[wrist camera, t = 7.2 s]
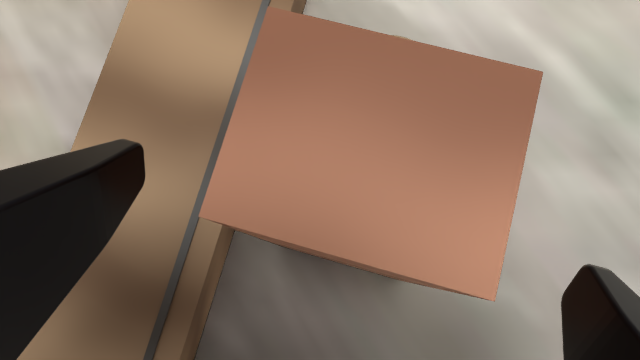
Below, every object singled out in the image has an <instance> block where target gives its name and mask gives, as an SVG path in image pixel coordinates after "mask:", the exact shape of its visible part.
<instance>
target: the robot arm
mask: <svg viewBox="0 0 640 360" xmlns="http://www.w3.org/2000/svg"><path fill="white" fill-rule="evenodd" d="M144 182H145V160H144V149H143V146H142V145H141V144H140V143H138V142H134V141H130V140H127V139H118V140H114V141H111V142H107V143H103V144H99V145H95V146H92V147H88V148H84V149H80V150H76V151H73V152H69V153H65V154H61V155H57V156H53V157H50V158H46V159H42V160H38V161H34V162H31V163H27V164H23V165H19V166H15V167H11V168H8V169H4V170H0V360H17V359H18V357H19V356H20V355H21V353H22V352H23V351H24V350H25V348H26V347H27V346H28V344H29V343H30V342H31V341H32V339H33V338H34V337H35V336H36V334H37V333H38V332H39V330H40V329H41V328H42V327H43V325H44V324H45V323H46V322H47V320H48V319H49V318H50V316H51V315H52V314H53V313H54V311H55V310H56V309H57V308H58V306H59V305H60V304H61V302H62V301H63V300H64V299H65V297H66V296H67V295H68V294H69V292H70V291H71V290H72V288H73V287H74V286H75V285H76V283H77V282H78V281H79V280H80V278H81V277H82V276H83V274H84V273H85V272H86V271H87V269H88V268H89V267H90V266H91V264H92V263H93V262H94V260H95V259H96V258H97V257H98V255H99V254H100V253H101V252H102V250H103V249H104V247H105V246H106V245H107V243H108V242H109V241H110V239H111V237H112V236H113V234H114V233H115V231H116V230H117V228H118V226H119V225H120V223H121V222H122V220H123V218H124V217H125V215H126V213H127V212H128V210H129V208H130V207H131V205H132V204H133V202H134V200H135V199H136V197H137V195H138V194H139V192H140V191H141V189H142V187H143V185H144ZM561 311H562V332H563V354H564V360H640V297H639V296H638V295H637V294H636V293H635V292H633V291H632V290H631V289H630V288H629V287H628V286H627V285H626V284H625V283H624V282H623V281H622V280H620V279H619V278H618V277H617V276H616V275H615V274H614V273H613V272H612V271H610V270H609V269H606V268H602V267H598V266H595V265H591V264H587V265H584V266H583V267H582V268H581V269H580V270H579V271H578V273H577V274H576V276H575V277H574V279H573V280H572V281H571V283H570V284H569V286H568V287H567V289H566V290H565V292H564V294H563V296H562V301H561Z"/></svg>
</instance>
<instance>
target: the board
mask: <svg viewBox="0 0 640 360" xmlns="http://www.w3.org/2000/svg"><path fill="white" fill-rule="evenodd" d="M305 3H306V0H129V2H128V4H127V7H126V9H125V12H124V15H123V17H122V20H121V22H120V25H119V27H118V30H117V33H116V35H115V38H114V40H113V43H112V46H111V48H110V51H109V53H108V56H107V58H106V61H105V64H104V66H103V69H102V71H101V74H100V77H99V79H98V82H97V84H96V87H95V89H94V92H93V95H92V97H91V100H90V102H89V105H88V108H87V110H86V113H85V115H84V118H83V121H82V123H81V126H80V128H79V131H78V133H77V136H76V139H75V141H74V144H73V146H72V149H71V152H73V151H76V150H80V149H84V148H88V147H92V146H95V145H99V144H103V143H107V142H111V141H114V140H118V139H127V140H130V141H134V142H138V143H140V144H141V145H142V146H143V149H144V160H145V182H144V185H143V187H142V189H141V191H140V192H139V194H138V195H137V197H136V199H135V200H134V202H133V204H132V205H131V207H130V208H129V210H128V212H127V213H126V215H125V217H124V218H123V220H122V222H121V223H120V225H119V226H118V228H117V230H116V231H115V233H114V234H113V236H112V237H111V239H110V241H109V242H108V243H107V245H106V246H105V247H104V249H103V250H102V252H101V253H100V254H99V255H98V257H97V258H96V259H95V260H94V262H93V263H92V264H91V266H90V267H89V268H88V269H87V271H86V272H85V273H84V274H83V276H82V277H81V278H80V280H79V281H78V282H77V283H76V285H75V286H74V287H73V288H72V290H71V291H70V292H69V294H68V295H67V296H66V297H65V299H64V300H63V301H62V302H61V304H60V305H59V306H58V308H57V309H56V310H55V311H54V313H53V314H52V315H51V316H50V318H49V319H48V320H47V322H46V323H45V324H44V325H43V327H42V328H41V329H40V330H39V332H38V333H37V334H36V336H35V337H34V338H33V339H32V341H31V342H30V343H29V344H28V346H27V347H26V348H25V350H24V351H23V352H22V353H21V355H20V356H19V357H18V359H17V360H194V358H195V354H196V351H197V348H198V345H199V342H200V338H201V335H202V332H203V329H204V326H205V322H206V319H207V316H208V313H209V310H210V306H211V303H212V300H213V297H214V294H215V290H216V287H217V284H218V281H219V278H220V275H221V271H222V268H223V265H224V262H225V259H226V255H227V252H228V249H229V246H230V243H231V239H232V236H233V233H234V230H235V229H232V228H229V227H226V226H223V225H221V224H218V223H215V222H212V221H209V220H207V219H204V218H201V217H198V216H199V213H200V210H201V207H202V204H203V201H204V198H205V195H206V192H207V189H208V186H209V183H210V180H211V177H212V174H213V171H214V168H215V165H216V162H217V159H218V156H219V153H220V150H221V147H222V144H223V140H224V137H225V134H226V131H227V128H228V125H229V122H230V119H231V116H232V113H233V110H234V107H235V104H236V101H237V98H238V95H239V92H240V89H241V86H242V83H243V80H244V77H245V74H246V71H247V68H248V65H249V62H250V59H251V56H252V53H253V50H254V47H255V44H256V41H257V38H258V35H259V32H260V29H261V26H262V23H263V20H264V17H265V14H266V11H267V8H268V6H270V7H274V8H278V9H282V10H286V11H291V12H295V13H299V14H302V13H303V10H304V7H305Z"/></svg>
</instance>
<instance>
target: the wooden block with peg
mask: <svg viewBox="0 0 640 360" xmlns="http://www.w3.org/2000/svg"><path fill="white" fill-rule="evenodd" d="M542 75H543V72H542V71H537V70H533V69H529V68H525V67H521V66H516V65H512V64H508V63H504V62H500V61H496V60H491V59H487V58H483V57H479V56H475V55H470V54H466V53H462V52H458V51H454V50H450V49H445V48H441V47H437V46H433V45H429V44H424V43H420V42H416V41H412V40H410V39H408V38H405V37H401V36H394V35H387V34H383V33H378V32H374V31H370V30H366V29H362V28H358V27H353V26H349V25H345V24H341V23H337V22H332V21H328V20H324V19H320V18H316V17H312V16H307V15H303V14H299V13H295V12H291V11H286V10H282V9H278V8H274V7H270V6H268V8H267V11H266V14H265V17H264V20H263V23H262V26H261V29H260V32H259V35H258V38H257V41H256V44H255V47H254V50H253V53H252V56H251V59H250V62H249V65H248V68H247V71H246V74H245V77H244V80H243V83H242V86H241V89H240V92H239V95H238V98H237V101H236V104H235V107H234V110H233V113H232V116H231V119H230V122H229V125H228V128H227V131H226V134H225V137H224V140H223V144H222V147H221V150H220V153H219V156H218V159H217V162H216V165H215V168H214V171H213V174H212V177H211V180H210V183H209V186H208V189H207V192H206V195H205V198H204V201H203V204H202V207H201V210H200V213H199V216H198V217H201V218H204V219H207V220H209V221H212V222H215V223H218V224H221V225H223V226H226V227H229V228H232V229H235V230H237V231H240V232H243V233H246V234H249V235H251V236H254V237H257V238H260V239H263V240H265V241H268V242H271V243H274V244H277V245H279V246H283V247H286V248H290V249H293V250H297V251H300V252H303V253H307V254H310V255H314V256H317V257H321V258H324V259H328V260H331V261H335V262H338V263H342V264H345V265H349V266H352V267H356V268H359V269H363V270H366V271H370V272H373V273H377V274H380V275H383V276H387V277H390V278H394V279H397V280H401V281H405V282H410V283H414V284H419V285H423V286H428V287H432V288H437V289H441V290H446V291H450V292H455V293H459V294H464V295H468V296H473V297H477V298H482V299H486V300H491V301H495V298H496V293H497V288H498V284H499V279H500V274H501V269H502V265H503V260H504V255H505V250H506V246H507V241H508V236H509V231H510V227H511V222H512V217H513V212H514V208H515V203H516V198H517V193H518V189H519V184H520V179H521V174H522V170H523V165H524V160H525V155H526V151H527V146H528V141H529V136H530V132H531V127H532V122H533V118H534V113H535V108H536V103H537V99H538V94H539V89H540V84H541V80H542Z"/></svg>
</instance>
